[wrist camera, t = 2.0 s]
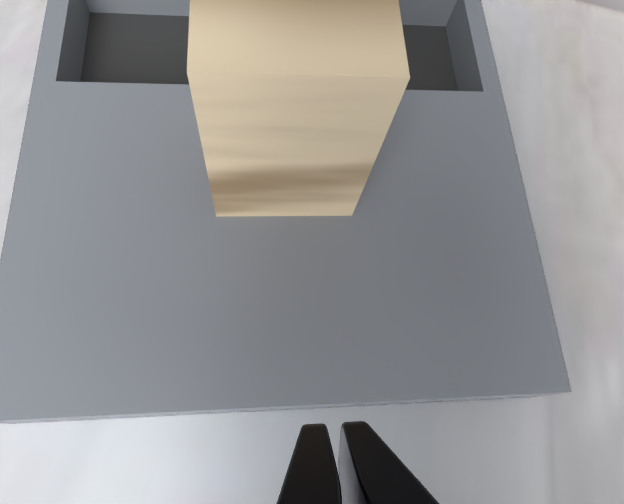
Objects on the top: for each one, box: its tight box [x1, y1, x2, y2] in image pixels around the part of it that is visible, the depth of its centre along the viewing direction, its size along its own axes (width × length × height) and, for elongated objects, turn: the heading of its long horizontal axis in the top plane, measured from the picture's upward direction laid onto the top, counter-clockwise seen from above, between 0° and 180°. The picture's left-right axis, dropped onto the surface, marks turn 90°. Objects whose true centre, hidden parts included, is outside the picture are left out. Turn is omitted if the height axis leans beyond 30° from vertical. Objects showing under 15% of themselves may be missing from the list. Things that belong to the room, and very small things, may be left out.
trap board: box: [0, 0, 571, 424], centre depth 23 cm, size 23×23×4 cm
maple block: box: [187, 0, 410, 217], centre depth 18 cm, size 6×6×9 cm
